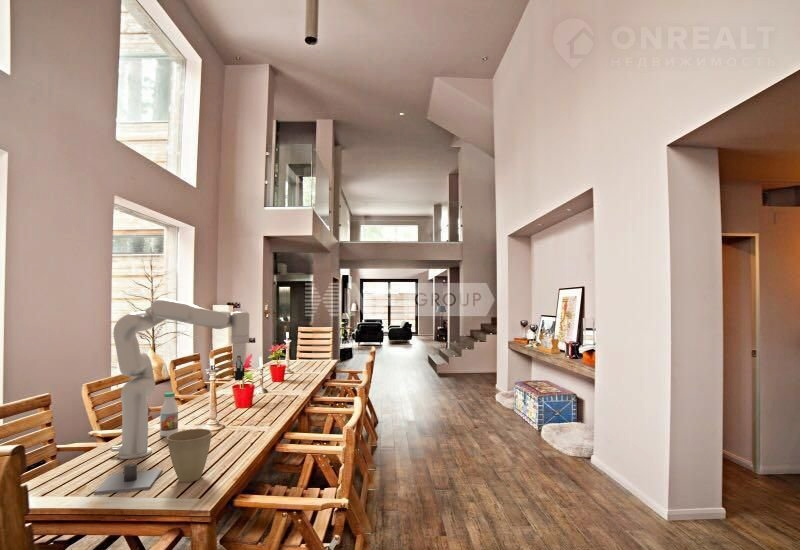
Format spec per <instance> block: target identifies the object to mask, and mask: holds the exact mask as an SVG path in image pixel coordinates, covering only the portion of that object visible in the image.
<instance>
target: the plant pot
mask: <svg viewBox="0 0 800 550" xmlns="http://www.w3.org/2000/svg"><path fill="white" fill-rule="evenodd" d="M212 433H213V432H212V430H210V429H207V428H191V429H184V430H178V432H176V433H173V434H171V435H169V436H166V439H167V445H168V452H169V455H170V461H171V464H172V467H173V469H174V472H175V475H176V477H177V479H178V481H179V483H191V482H192V483H193V482H196V481H198V480H199V479H200V478H201V477H202V476H203V475H202V474H203V472H204V469H205V466H206V463H207V460H208V457H209V456H208V455H209V451H210V447H211V441H212Z"/></svg>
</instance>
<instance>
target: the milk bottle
mask: <svg viewBox="0 0 800 550" xmlns="http://www.w3.org/2000/svg"><path fill="white" fill-rule="evenodd" d="M175 395H176V393H175V392H173V391H171V392H165V393H164V394H163V397H164V401H163V404H162V405H161V408H160V419H159V420H160V421H159V423H160V424H159V425H160V426H159V435H160V436H161V437H166V438H167V437H168V436H169V435H171V434H173V433H176V432H179V408H178V405H177V403H176V401H175Z"/></svg>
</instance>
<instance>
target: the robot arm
mask: <svg viewBox="0 0 800 550" xmlns="http://www.w3.org/2000/svg"><path fill="white" fill-rule="evenodd" d="M166 320H168V321H176V322H180V323H185V324H189V325H195V326H198V327H204V328H209V329H215V330H222V329H226V328H227V329H228V328H231V330H230V331H231V336H230V340H231V341H230V343H231V344H233V347H232V367H235V371H234V381H243V380H244V379H243V378H244V377H245V364H246V362H247V361H246V359H247V344H249V343H250V313H249V312H248V311H233V312H232V311H224V310H222V311H218V310H212V309H208V308H207V309H206V308H203V307H199V306H198V305H195V304H193V303H188V302H182V301H177V300H173V299H171V298H163V297H161V298H157V299H155V300H153V302H152V303H151V304H150V306H149V307H147V308H146V309H144V310H142V311H134V312H129V313H127V314H125V315H123V316H122V317H120V318H119V319H118V320H117V322H116V323H115V324H114V327H113V333H112V335H113V340H114V345H115V350H116V351H115V352H116V356H117V362H118V368H119V372H120V373H121V374H122V375H123V376H124V377H128V378H130V380H129V381H127V382H126V383H125V384H124V385H123V387H122V389H121V391H120V399H121V408H122V411H121V413H122V420H121V422H122V424H121V425H122V428H121V429H122V430H121V444H120V445H112V446H110V452H112V453H116V452H117V454H116V455H117V458H118V459H120V460H121V459H122V460H133V459H139V458H142V457H145V456H148V455H150V454H151V453H152V447H150V446H148V444H149V442H148V441H149V439H148V437H149V406H148V399H147V398H148V396H150V395H152V394H153V393H154V391H155V389H156V381H155V380H156V379H155V374H154V370H153V365H152V360H151V358H150V356H149V355H148V354H146V353H145V352H142V351H141V350H140V343H139V341H138V337H137V333H138V332H144V331H147V330H150V329H152V328H153V327H155V326H157V325H159V324H161V323H162V322H165V321H166Z"/></svg>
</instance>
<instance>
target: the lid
mask: <svg viewBox="0 0 800 550" xmlns="http://www.w3.org/2000/svg"><path fill="white" fill-rule="evenodd" d="M162 472H163V468H161V469H160V468H159V469H150V470H148V469H147V470H138V463H128V464H126V465H124V466H123V472H115V473H111V475H109V476H108V477H107V478H106V479H105V480H104V481H103V482H102V483H101V484H100V485H99V487H97V489H95V490H94V492H93V495H95V496H96V495H103V494H104V495H105V494H113V493H116V494H117V493H122V492H123V493H125V492H133V491H144V490H150V489H151V488H152V487H153V485H154V484H155V482H156V481H157V479H159V477H160V476H161V474H162Z"/></svg>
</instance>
